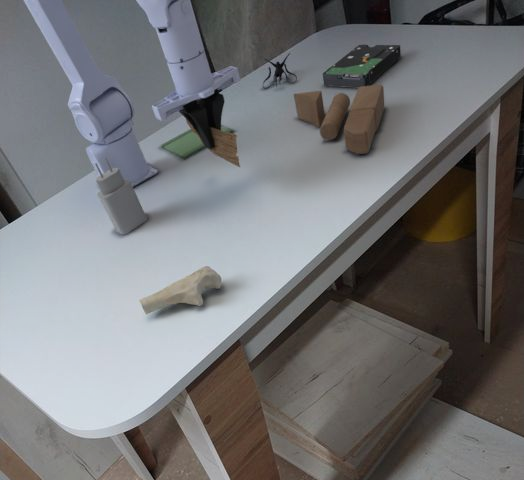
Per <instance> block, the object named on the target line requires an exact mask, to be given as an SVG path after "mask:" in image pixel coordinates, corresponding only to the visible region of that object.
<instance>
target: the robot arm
mask: <svg viewBox="0 0 524 480" xmlns="http://www.w3.org/2000/svg"><path fill="white" fill-rule="evenodd" d="M135 1H136V2H137V4H138V6H140V8H141V9H142V10H143V11H144V13H145V14H146V16H147V18H148V21H149V24H150V25H151V27H153V28H154V29H155V32H156V34H157V37H158V40H159V43H160V46H161V49H162V52H163V55H164V58H165V61H166V64H167V67H168V70H169V73H170V76H171V79H172V81H173V85H174V88H175V90H174V91H172V92H170V93H169V94H168V95H166V97H164V98H163V99H161V100H160V101H158V102H156V103H155V104H153V105H151V109H152V111H153V115H154V117H155V119H156V120H158V121H161V122H164V121H166V120H168V117H169V116H172V115H173V114H175V113H177V112H179V113H180V114H181V115H182V116H183V117H184V119H185V120H186V119H187V120H188V122H189V123H190V124H191V125H192V126H193V128H194V129H195V130H196V132H197V133H198V135H199V136H200V138H201V140H202V142H203V144H204V146H205V147H206V149H208V148H209V149H212V148H214V143H213V139H212V136H211V133H210V130H209V127H212V128H215V129H218V130H220V131H221V126H222V117H223V110H224V105H225V102H226V101H225V96H224V94H222V93H220V92H219V91H220V90H221V89H223V88H226V87H227V86H229V85H232V84H237V83H239V82H241V77H240V73H239V68H238V67H236V66H232V65H229V66H228V67H225V68H223V69H220V70H218V71H215V72H212V71H211V68H210V64H209V61H208V58H207V54H206V50H205V46H204V43H203V40H202V37H201V33H200V29H199V26H198V23H197V19H196V15H195V12H194V8H193V5H192V1H191V0H135ZM23 3H24V4H25V6H26V7H27V9H28V11H29V12H30V14H31V17H32V18H33V20H34V21H35V23H36V25H37V26H38V29H39V31H40V32H41V34H42V35H43V37H44V39H45V40H46V42H47V44H48V45H49V48H50V49H51V51H52V53H53V54H54V57H55V58H56V60H57V61H58V64H59V65H60V66H61V68H62V70H63V72H64V73H65V75H66V77H67V78H68V81H69V82H70V84H71V85H72V87H71V92H70V94H69V98H68V101H67V107H68V108H69V110H70V112H71V114H72V117H73V119H74V125H75V126H76V128H77V130H78V132H79V133H80V134H81V136H82V137H83V138H85V139H86V140H87V141H89V142H90V143H91V144H90V145H88V146H87V147H86V148H85V151H86V154H87V157H88V159H89V161H90V163H91V165H92V167H93V169H94V171H95V173H96V175H97V177H99V176H100V173H99V171H98V169H97V167H96V165H95V163H97V165H98V167H99V169H100V171H101V173H102V174H103V173H105V172H107V171H108V170H110V169H109V167H108V165H107V162H106V160H105V157H106V158H107V161H108V163H109V164H110V166H111V169H113V168H119V170H120V172H121V174H122V177H123V178H124V179H127V180H129V181H130V182H131V184H132V186H133V188H134V187H135V186H138V185H139V184H141V183H142V182H144V181H146V180H148V179H149V178H151V177H153V176H155V175H157V174H158V173H159V172H158V170H157V169H156V168H154V167H153V166H150V165H149V164H148V163H147V162H148V161H147V160H146V158H145V155H144V152H143V150H142V149H141V146H140V143H139V141H138V139H137V137H136V134H135V132H134V129H133V126H134V125H135V123H134V121H133V118H134V117H135V107H134V104H133V101H132V99H131V98H130V96H129V95H128V94H127V92H126V91H125V90H124V89H123V88H122V87H121V85H120V84H119V82H118V80H117V77H114V76H110V75H109V74H105V73H102V72H101V71H100V70H99V67H98V65H97V64H96V62H95V60H94V58H93V57H92V55H91V53H90V51H89V49H88V47H87V45H86V43H85V41H84V40H83V37H82V36H81V33H80V31H79V30H78V28H77V26H76V25H75V23H74V21H73V19H72V17H71V15H70V13H69V12H68V9H67V7H66V6H65V4H64V2H63V0H23ZM209 149H208V150H209Z"/></svg>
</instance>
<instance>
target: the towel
mask: <svg viewBox="0 0 524 480" xmlns="http://www.w3.org/2000/svg"><path fill="white" fill-rule="evenodd" d="M221 131H224V132H230V133H234V130H233V129H232V128H228V127H226V126H223V125H221ZM160 147H161V148H163V149H165V150H166V151H168V152H170V153H172V154H174V155H176V156H178V157H180V158H182V159H183V160H186V159H188V158H190V157H191V156H194V155H195V154H196V153H199V152H200V151H202V150H204V149H207V147H205V146H204V145H203V144H202V142H201V140H200V138H199V137H198V135H196V134H195V133H193V131H192V129H191V128H189V129H188V130H186V131H184V132H183V133H180V134H179V135H177V136H175V137H173V138H171V139H170V140H168V141H166V142H163V143H162V144H161V146H160Z"/></svg>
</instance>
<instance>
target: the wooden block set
mask: <svg viewBox="0 0 524 480" xmlns="http://www.w3.org/2000/svg"><path fill="white" fill-rule="evenodd" d="M384 92H385V90H384V85H383V84H373V85H368V86H363V87H359V88H357V89H356V93H355V95H354V98H353V99H352V103H351V100H350V97H349V95H347V94H346V93H343V92H339V93H337V94H335V95H334V96H333V99H332V101H331V103H330V105H329V107H328V110H327V112H325V106H324V98H323V92H322V90H316V91H315V90H314V91H306V92H305V91H304V92H298V93H293V100H294V105H295V110H296V115H297V119H298V120H300V121H304V122H306V123H308V124H309V125H313V126H315V127H317V128H319V135H320V136H321V138H322V139H323V140H325V141H332V140H335V139H336V138H337V136H338V134H339V132H340V129H341V127H342V124H343V123H344V120H345V116H346V114H347V112H348V109H349V113H348V116H347V119H346V121H345V124H344V126H343V133H344V142H345V148H346V149H347V150H349V151H350V152H353V153H354V154H356V155H365V154H368V153H369V151H370V149H371V145H372V143H373V140H374V137H375V133H377V132H378V129H379V127H380V123H381V120H382V117H383V114H384V111H385V93H384ZM350 104H351V105H350ZM349 107H350V108H349ZM325 113H326V114H325Z"/></svg>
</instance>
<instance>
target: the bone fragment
mask: <svg viewBox="0 0 524 480" xmlns="http://www.w3.org/2000/svg"><path fill="white" fill-rule="evenodd" d="M221 287H222V277H221V275H219V273H218V272H217V271H216V270H215V269H213V268H212V267H210V266H208V265H206V266H203V267H200V268H199V269H197V270H196V271H194V272H192V273H191V274H188V275H186V276H185V277H182V278H180V279H179V280H176V281H174V282H173V283H171V284H169V285H167V286H165V287H164V288H162V289H161V290H159V291H157V292H155V293H153V294H150V295H148V296H145V297H143V298H140V299H139V300H138V301H139V303H140V305H141V307H142V309H143V311H144V312H143V313H144V314H145V315H148V314H151V313H153V312H155V311H157V310H159V309H162V308H163V307H166V306H170V305H175V304H176V305H177V304H181V303H182V304H187V305H192V306H193V305H195V306H198V307H199V306H200V307H201V306H203V305H204V299H203V297H202V293H204V290H205V289H210V288H212V289H217V290H220V289H221Z"/></svg>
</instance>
